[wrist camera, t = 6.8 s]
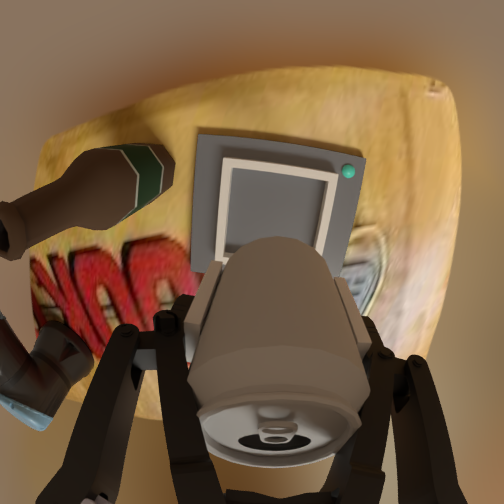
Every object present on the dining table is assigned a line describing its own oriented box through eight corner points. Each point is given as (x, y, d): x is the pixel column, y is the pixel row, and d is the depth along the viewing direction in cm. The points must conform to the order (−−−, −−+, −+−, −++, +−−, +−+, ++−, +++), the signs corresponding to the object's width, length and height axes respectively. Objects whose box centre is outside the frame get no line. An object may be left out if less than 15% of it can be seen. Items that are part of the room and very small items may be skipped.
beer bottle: (184, 191, 33) (56, 290, 11) (133, 205, 34) (0, 297, 12) (170, 133, 30) (12, 148, 8) (119, 151, 31) (-36, 195, 9)
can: (225, 323, 20) (192, 468, 10) (219, 230, 17) (145, 375, 7) (322, 324, 20) (348, 470, 9) (335, 232, 17) (413, 377, 6)
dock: (192, 267, 37) (187, 276, 35) (200, 134, 30) (194, 133, 28) (334, 286, 37) (337, 295, 35) (363, 157, 30) (370, 159, 28)
